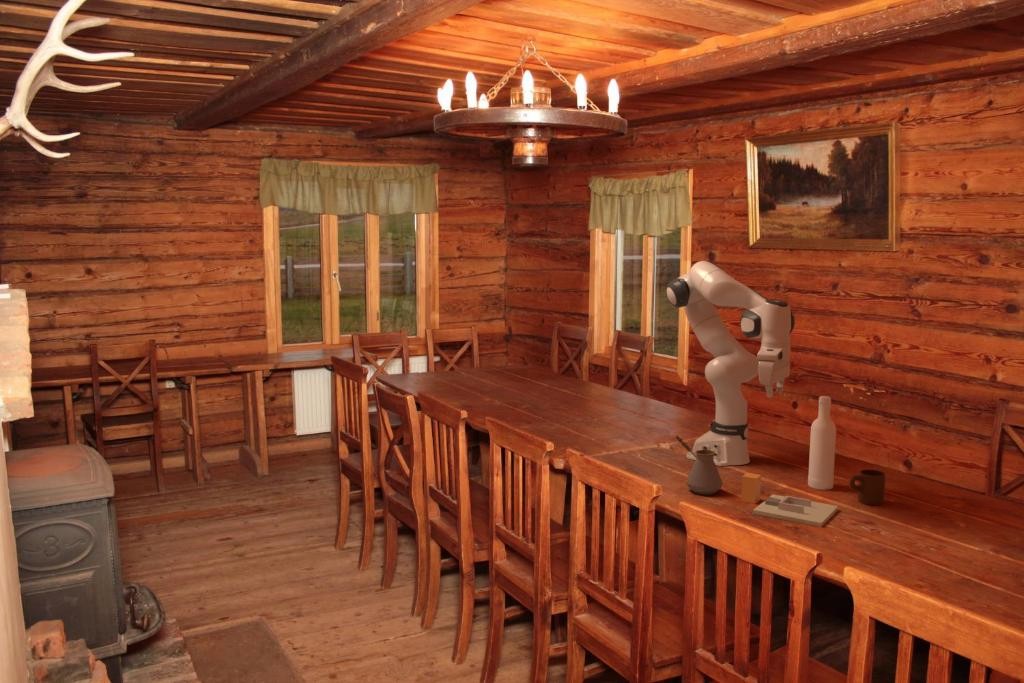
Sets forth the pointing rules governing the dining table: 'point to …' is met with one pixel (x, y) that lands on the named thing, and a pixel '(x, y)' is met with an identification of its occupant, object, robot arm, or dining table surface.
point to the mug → (869, 486)
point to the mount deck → (796, 510)
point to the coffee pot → (703, 472)
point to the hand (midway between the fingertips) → (774, 394)
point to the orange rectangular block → (751, 488)
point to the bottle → (822, 448)
